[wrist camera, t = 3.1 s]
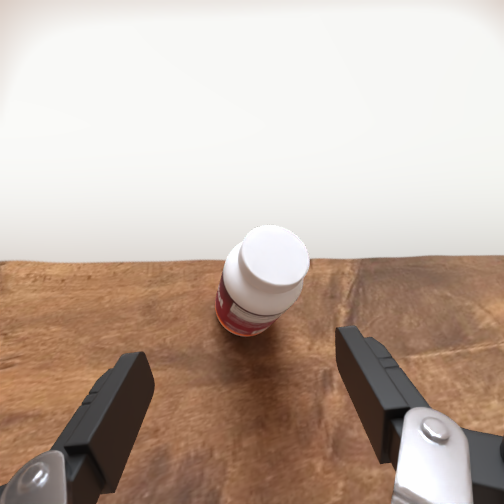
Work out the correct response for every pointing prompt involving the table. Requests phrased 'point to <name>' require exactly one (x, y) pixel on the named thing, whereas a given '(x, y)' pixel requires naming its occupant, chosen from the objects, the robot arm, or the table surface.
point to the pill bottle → (261, 280)
